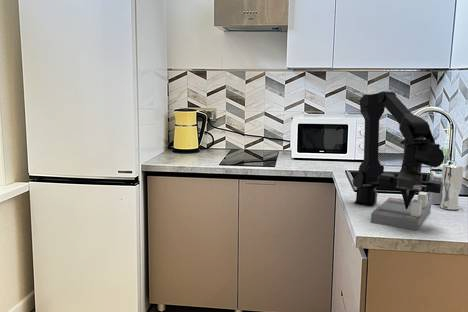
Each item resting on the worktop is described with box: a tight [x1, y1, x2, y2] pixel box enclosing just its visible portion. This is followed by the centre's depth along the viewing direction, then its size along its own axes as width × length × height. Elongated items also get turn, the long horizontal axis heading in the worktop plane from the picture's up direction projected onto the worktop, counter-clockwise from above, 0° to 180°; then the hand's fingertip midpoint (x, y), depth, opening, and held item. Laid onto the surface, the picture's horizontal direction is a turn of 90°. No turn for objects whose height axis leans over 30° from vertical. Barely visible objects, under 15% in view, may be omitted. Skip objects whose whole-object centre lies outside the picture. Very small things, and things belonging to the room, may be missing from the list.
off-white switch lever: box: [411, 198, 422, 217], centre depth 145 cm, size 2×4×4 cm, turn 148°
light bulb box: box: [427, 170, 442, 205], centre depth 173 cm, size 11×7×11 cm, turn 163°
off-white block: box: [417, 191, 428, 208], centre depth 155 cm, size 2×4×4 cm, turn 148°
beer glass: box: [439, 164, 464, 210], centre depth 164 cm, size 7×7×15 cm
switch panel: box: [370, 197, 432, 231], centre depth 153 cm, size 14×24×3 cm, turn 148°
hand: (406, 208), depth 146 cm, fingers closed
